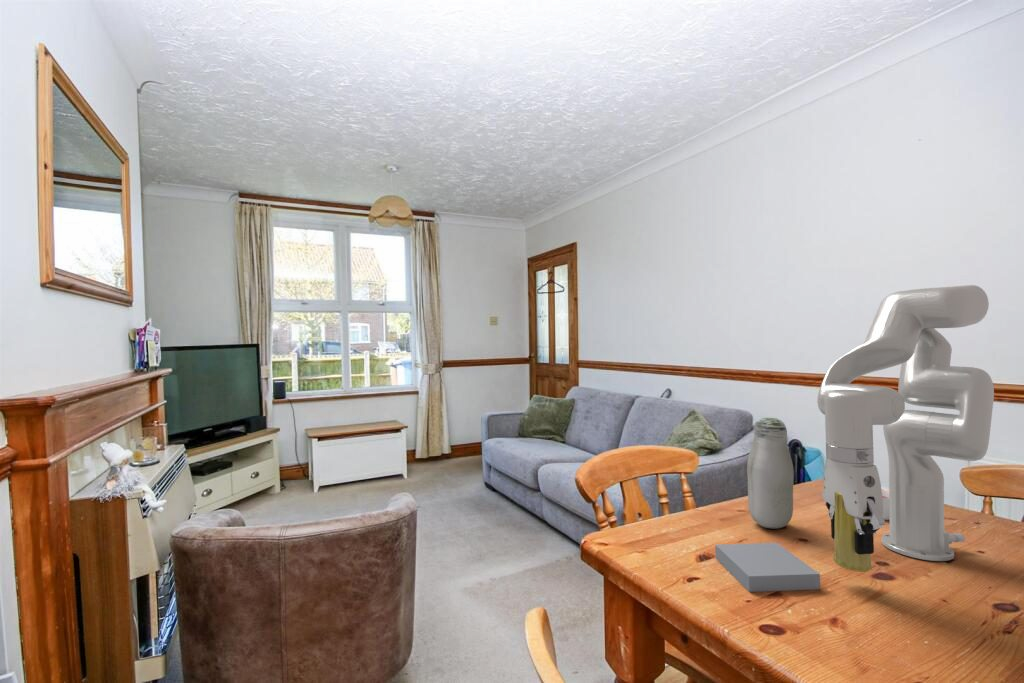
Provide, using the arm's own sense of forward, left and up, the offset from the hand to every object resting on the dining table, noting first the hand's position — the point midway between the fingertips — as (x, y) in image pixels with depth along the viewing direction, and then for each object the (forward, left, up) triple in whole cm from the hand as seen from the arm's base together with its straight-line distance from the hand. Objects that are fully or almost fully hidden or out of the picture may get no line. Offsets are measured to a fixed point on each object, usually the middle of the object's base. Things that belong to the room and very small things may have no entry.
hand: (851, 544), depth 92 cm
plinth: (+14, -7, -8) cm, 17 cm away
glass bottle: (-1, -30, -8) cm, 31 cm away
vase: (0, 0, -4) cm, 4 cm away
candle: (-33, -35, -8) cm, 49 cm away
